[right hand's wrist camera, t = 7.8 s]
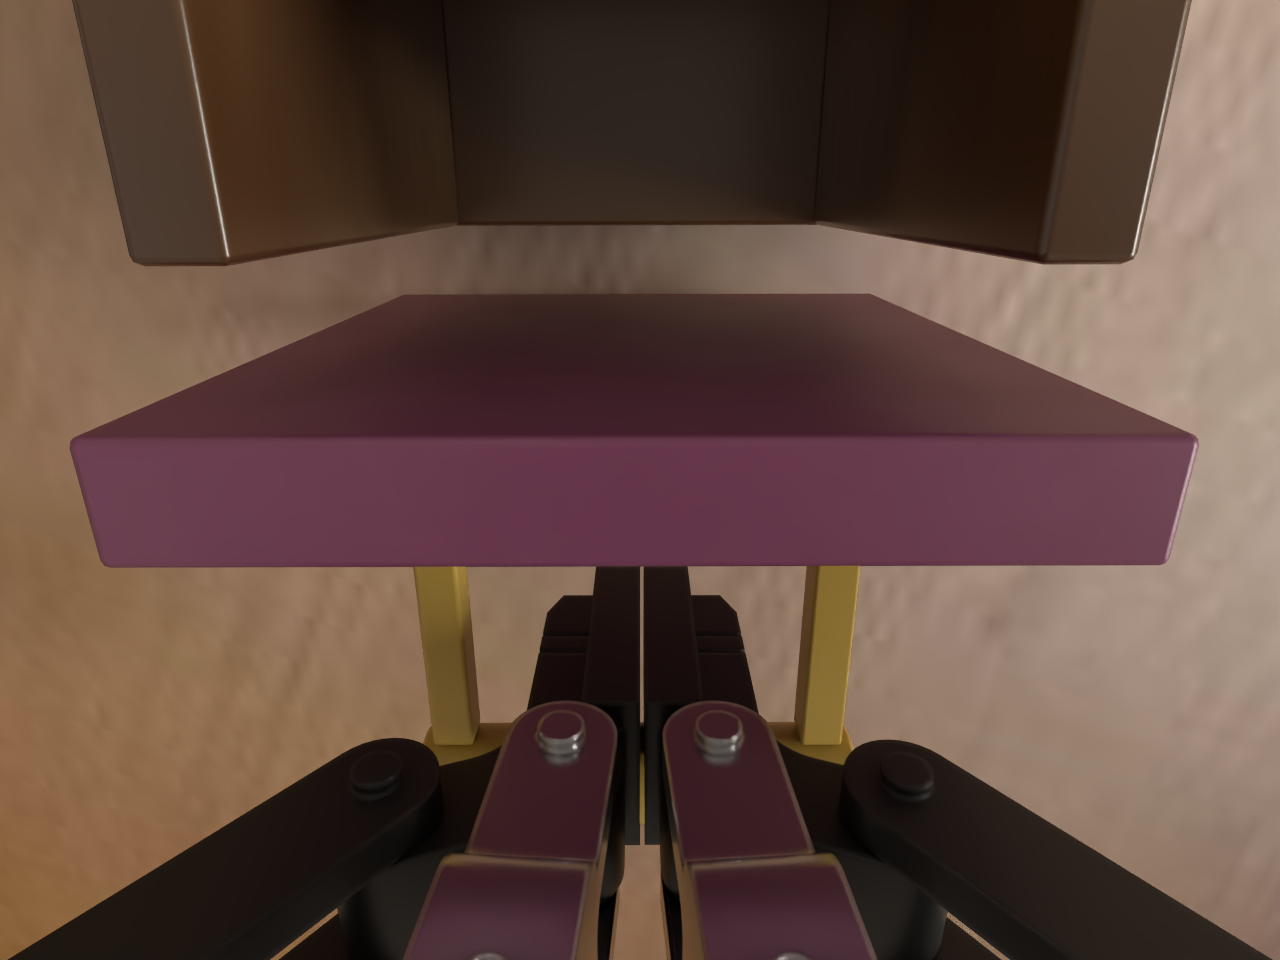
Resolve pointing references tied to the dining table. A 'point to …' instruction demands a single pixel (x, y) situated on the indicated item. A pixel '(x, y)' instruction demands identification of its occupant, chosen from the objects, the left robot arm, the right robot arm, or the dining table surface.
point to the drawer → (633, 297)
